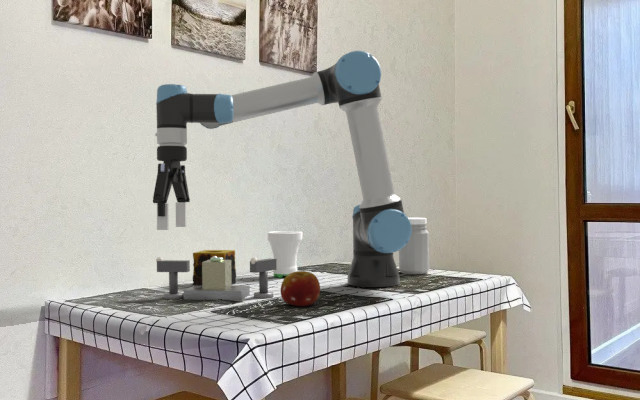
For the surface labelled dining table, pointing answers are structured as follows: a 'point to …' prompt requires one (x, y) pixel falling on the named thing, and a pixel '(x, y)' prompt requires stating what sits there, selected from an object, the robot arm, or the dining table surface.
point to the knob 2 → (262, 275)
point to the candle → (207, 255)
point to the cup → (285, 250)
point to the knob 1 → (173, 274)
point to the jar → (416, 249)
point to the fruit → (300, 288)
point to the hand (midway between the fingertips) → (172, 228)
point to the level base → (216, 293)
